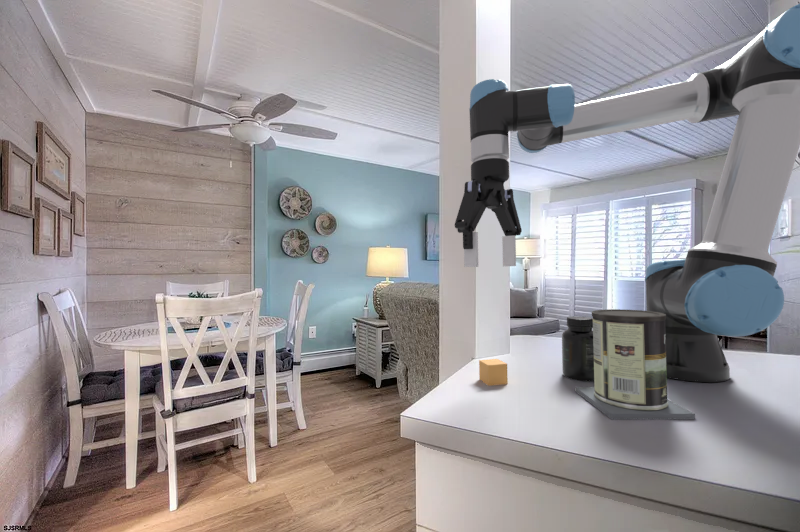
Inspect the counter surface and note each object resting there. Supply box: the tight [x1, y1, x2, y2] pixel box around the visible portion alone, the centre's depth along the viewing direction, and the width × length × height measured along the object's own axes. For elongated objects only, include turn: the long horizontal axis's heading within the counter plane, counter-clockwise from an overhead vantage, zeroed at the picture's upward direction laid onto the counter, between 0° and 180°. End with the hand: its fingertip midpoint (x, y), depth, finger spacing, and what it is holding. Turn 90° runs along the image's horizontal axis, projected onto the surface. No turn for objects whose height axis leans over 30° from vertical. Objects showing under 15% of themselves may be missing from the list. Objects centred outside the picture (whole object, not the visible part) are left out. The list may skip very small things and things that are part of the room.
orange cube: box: [478, 358, 509, 387], centre depth 72 cm, size 4×4×4 cm
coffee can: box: [591, 308, 668, 410], centre depth 59 cm, size 10×10×14 cm
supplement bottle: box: [561, 315, 594, 382], centre depth 74 cm, size 7×7×12 cm
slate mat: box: [574, 386, 696, 420], centre depth 59 cm, size 12×12×1 cm
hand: (491, 266), depth 74 cm, fingers open, 13 cm apart
